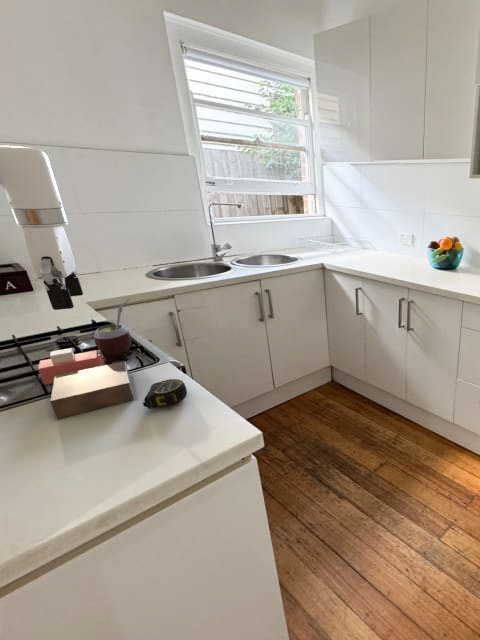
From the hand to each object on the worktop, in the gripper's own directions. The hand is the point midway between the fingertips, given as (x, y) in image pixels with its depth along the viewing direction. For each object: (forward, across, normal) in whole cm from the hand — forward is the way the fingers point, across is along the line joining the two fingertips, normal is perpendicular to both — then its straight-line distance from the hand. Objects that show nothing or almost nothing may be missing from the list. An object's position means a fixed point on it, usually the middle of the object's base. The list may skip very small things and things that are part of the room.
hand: (69, 301), depth 81 cm
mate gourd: (+18, -8, +4) cm, 20 cm away
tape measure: (+18, +21, +15) cm, 31 cm away
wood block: (+18, +11, +2) cm, 21 cm away
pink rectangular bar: (+18, -2, -4) cm, 18 cm away
